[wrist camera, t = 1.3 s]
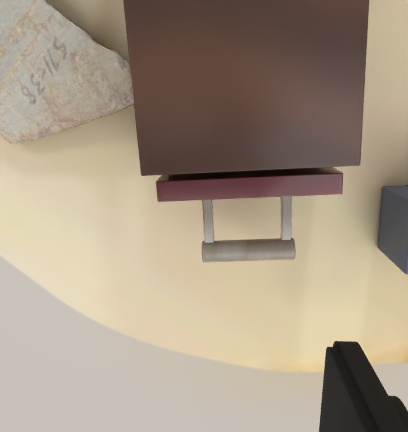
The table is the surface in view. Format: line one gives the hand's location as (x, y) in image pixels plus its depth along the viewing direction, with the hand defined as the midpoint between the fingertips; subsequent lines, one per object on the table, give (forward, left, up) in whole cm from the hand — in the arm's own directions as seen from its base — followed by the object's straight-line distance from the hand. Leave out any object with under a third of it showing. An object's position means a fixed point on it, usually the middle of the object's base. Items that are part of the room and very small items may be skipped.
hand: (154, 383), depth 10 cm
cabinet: (-3, -11, -21) cm, 24 cm away
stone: (+12, -12, -21) cm, 27 cm away
